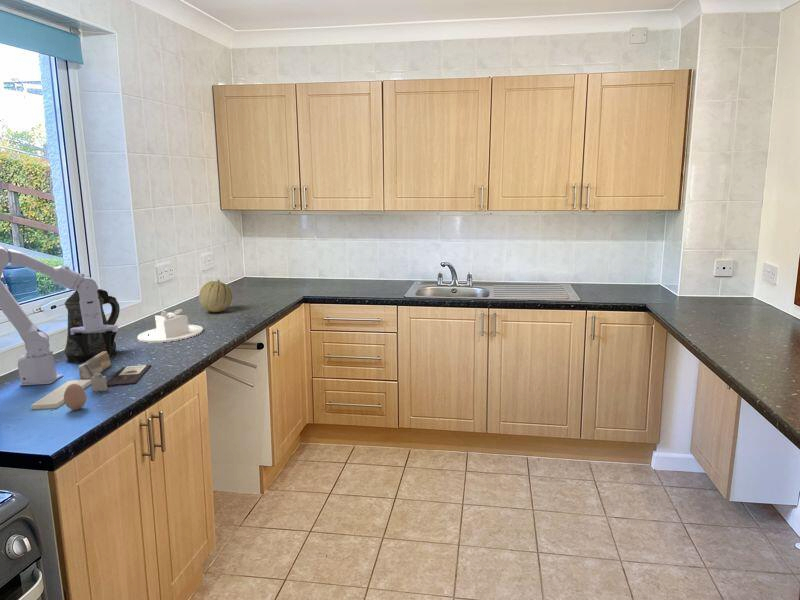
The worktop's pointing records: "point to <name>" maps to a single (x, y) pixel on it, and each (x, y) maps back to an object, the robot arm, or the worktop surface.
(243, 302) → the worktop surface
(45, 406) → the flat cream panel
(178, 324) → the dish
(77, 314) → the beer stein
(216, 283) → the cantaloupe
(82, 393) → the egg
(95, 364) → the tall tan wooden post
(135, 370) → the chocolate bar
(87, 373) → the lighter
